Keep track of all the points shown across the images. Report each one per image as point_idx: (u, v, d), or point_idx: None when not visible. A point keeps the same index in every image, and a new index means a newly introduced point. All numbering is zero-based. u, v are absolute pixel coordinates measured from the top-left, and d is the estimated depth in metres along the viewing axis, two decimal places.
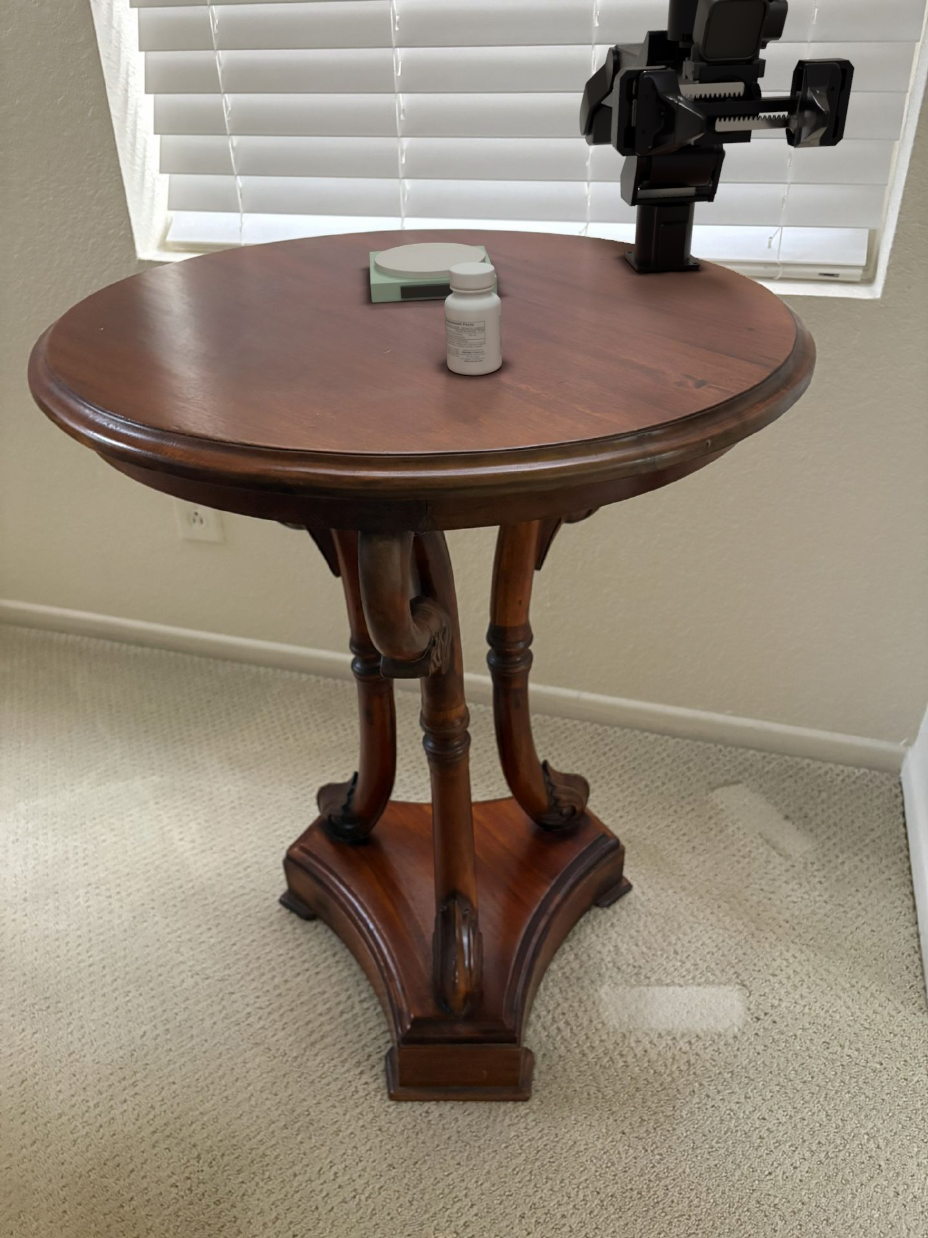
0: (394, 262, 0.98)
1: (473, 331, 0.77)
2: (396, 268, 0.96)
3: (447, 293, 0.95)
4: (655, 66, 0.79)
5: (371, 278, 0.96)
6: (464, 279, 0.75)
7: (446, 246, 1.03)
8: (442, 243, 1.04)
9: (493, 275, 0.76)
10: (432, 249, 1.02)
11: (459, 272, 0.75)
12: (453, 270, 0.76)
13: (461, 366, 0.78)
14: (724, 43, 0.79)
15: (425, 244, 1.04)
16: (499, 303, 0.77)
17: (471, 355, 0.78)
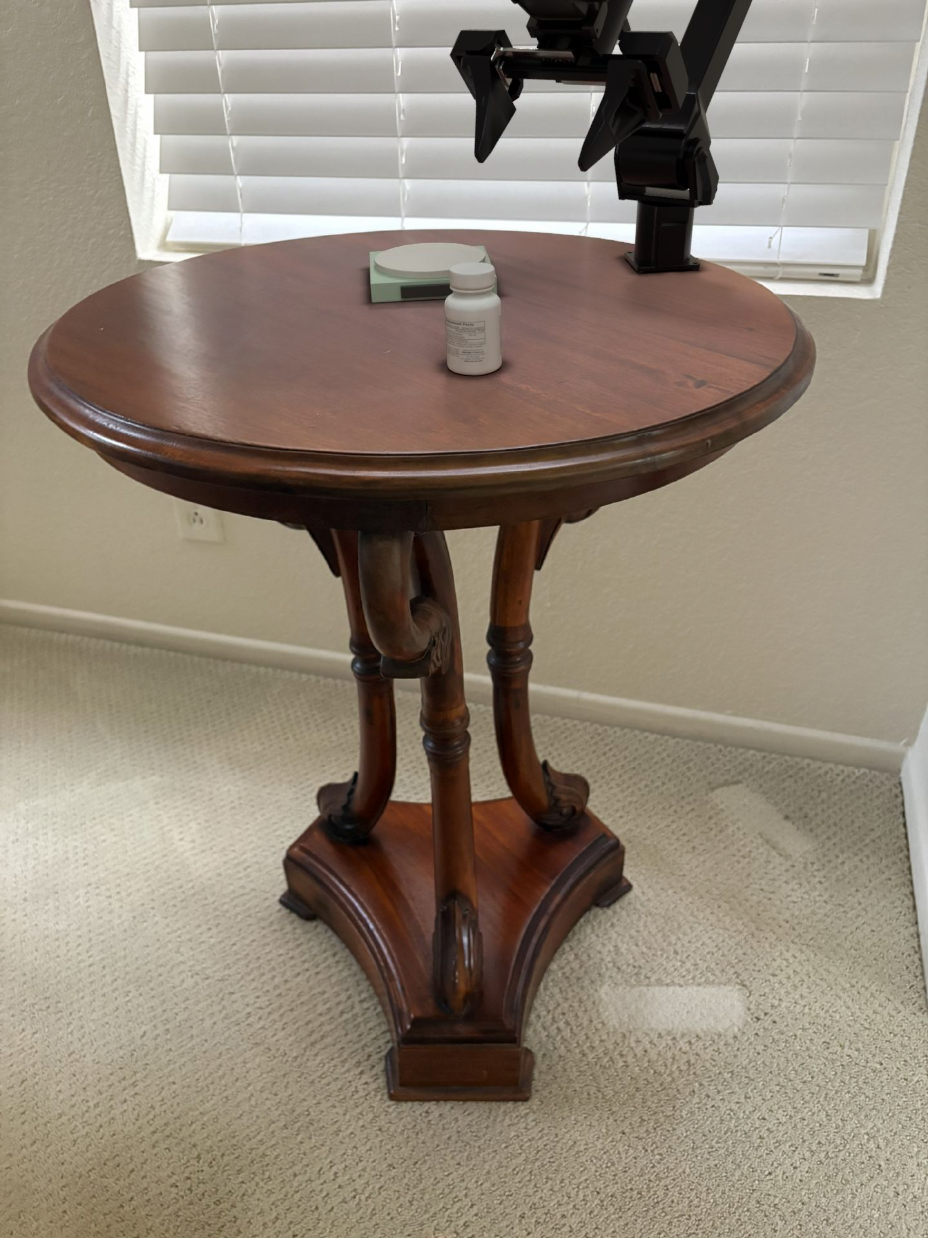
0: (394, 262, 0.98)
1: (473, 331, 0.77)
2: (396, 268, 0.96)
3: (447, 293, 0.95)
4: (486, 33, 0.79)
5: (371, 278, 0.96)
6: (464, 279, 0.75)
7: (446, 246, 1.03)
8: (442, 243, 1.04)
9: (493, 275, 0.76)
10: (432, 249, 1.02)
11: (459, 272, 0.75)
12: (453, 270, 0.76)
13: (461, 366, 0.78)
14: (547, 11, 0.76)
15: (425, 244, 1.04)
16: (499, 303, 0.77)
17: (471, 355, 0.78)
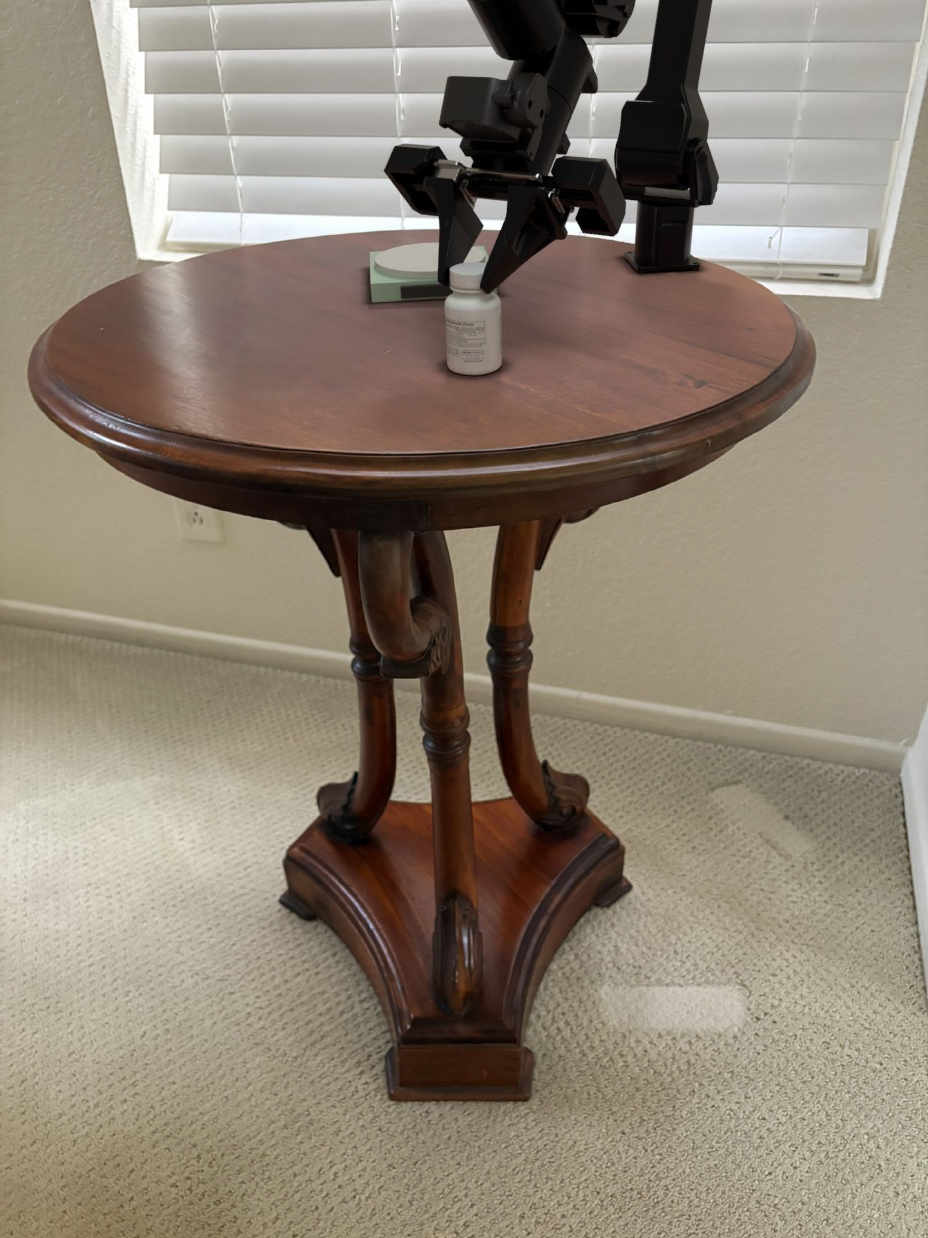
0: (394, 262, 0.98)
1: (473, 331, 0.77)
2: (396, 268, 0.96)
3: (447, 293, 0.95)
4: (420, 151, 0.77)
5: (371, 278, 0.96)
6: (464, 279, 0.75)
7: None
8: None
9: None
10: (432, 249, 1.02)
11: (459, 272, 0.75)
12: (453, 270, 0.76)
13: (461, 366, 0.78)
14: (479, 134, 0.73)
15: (425, 244, 1.04)
16: (499, 303, 0.77)
17: (471, 355, 0.78)
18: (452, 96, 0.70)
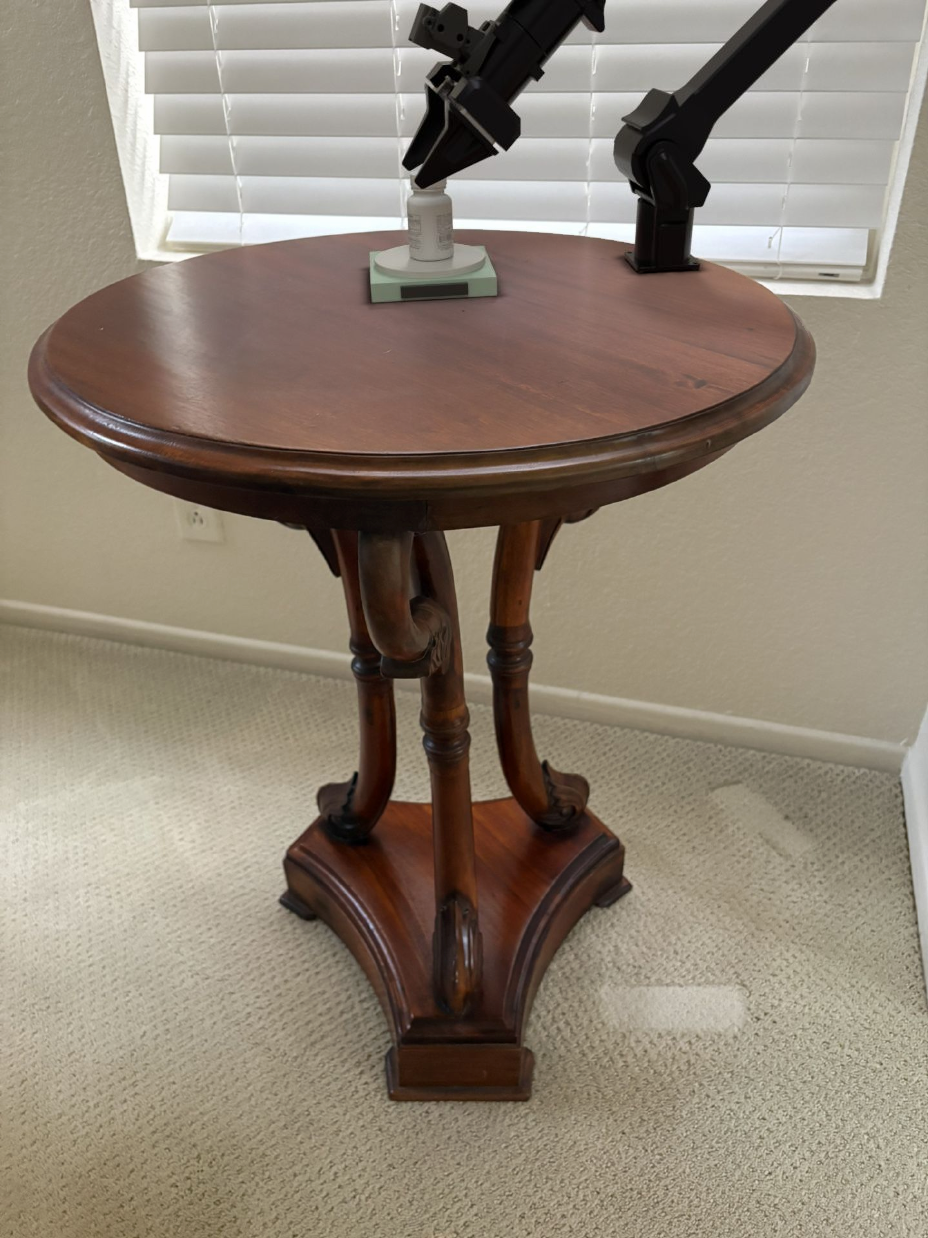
0: (394, 262, 0.98)
1: (413, 222, 0.96)
2: (396, 268, 0.96)
3: (447, 293, 0.95)
4: (439, 66, 0.96)
5: (371, 278, 0.96)
6: (411, 178, 0.95)
7: None
8: None
9: None
10: None
11: (412, 172, 0.95)
12: (413, 171, 0.96)
13: None
14: None
15: None
16: (438, 204, 0.95)
17: (412, 242, 0.98)
18: (415, 19, 0.89)
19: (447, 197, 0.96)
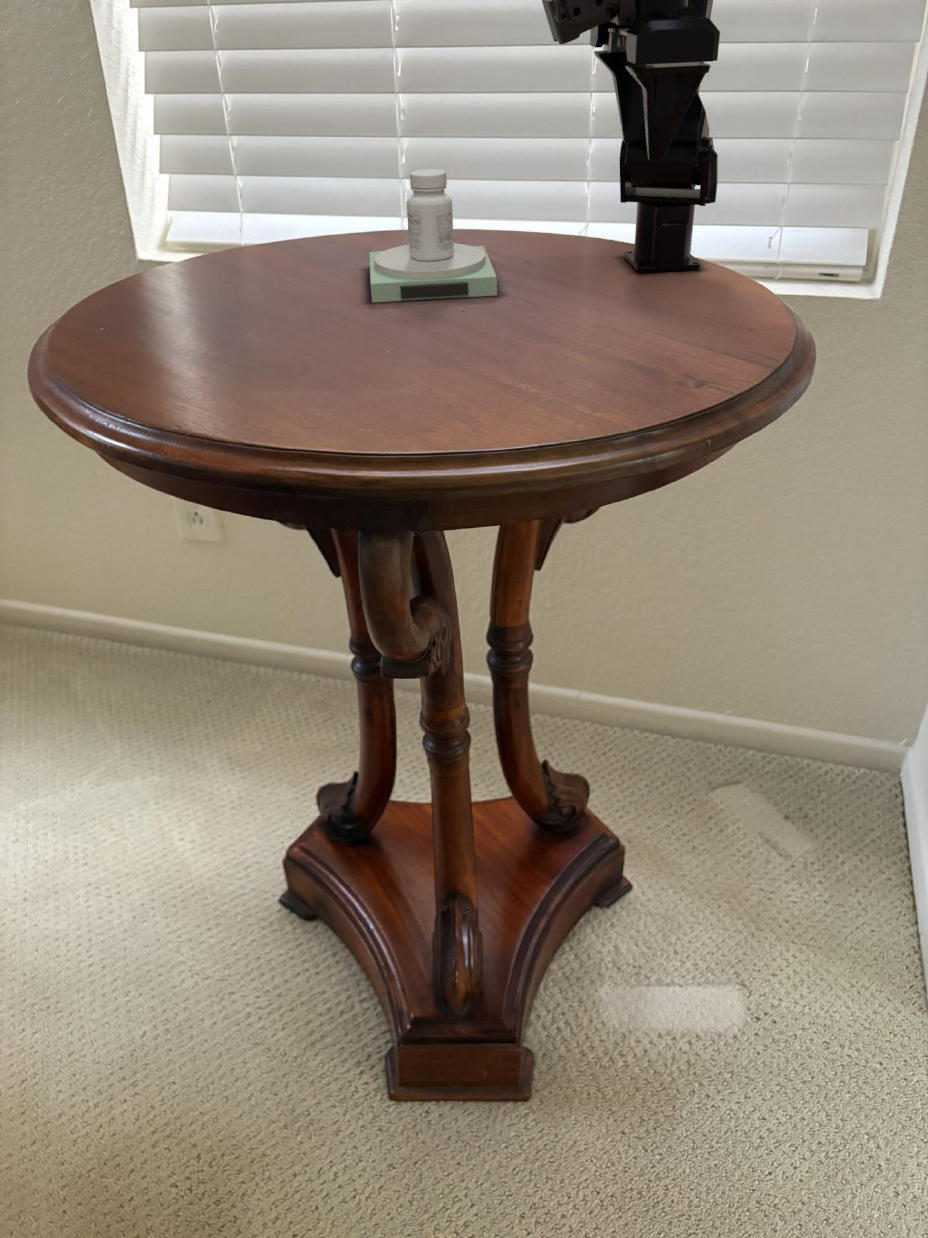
0: (394, 262, 0.98)
1: (413, 222, 0.96)
2: (396, 268, 0.96)
3: (447, 293, 0.95)
4: (596, 26, 0.86)
5: (371, 278, 0.96)
6: (411, 178, 0.95)
7: None
8: None
9: (434, 180, 0.94)
10: None
11: (412, 172, 0.95)
12: (413, 171, 0.96)
13: None
14: None
15: None
16: (438, 204, 0.95)
17: (412, 242, 0.98)
18: (547, 18, 0.81)
19: (447, 197, 0.96)
